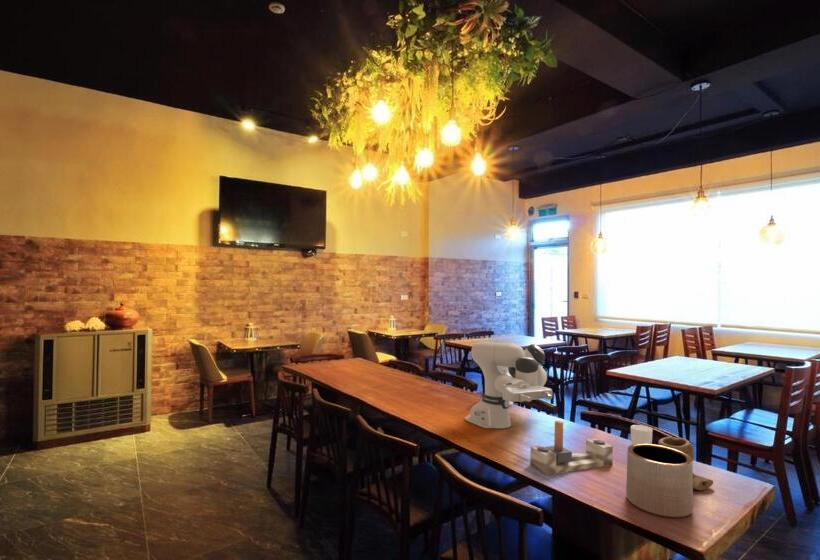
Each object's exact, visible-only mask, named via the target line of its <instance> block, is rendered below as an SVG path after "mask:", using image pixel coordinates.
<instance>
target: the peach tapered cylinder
mask: <svg viewBox="0 0 820 560" xmlns="http://www.w3.org/2000/svg"><path fill="white" fill-rule="evenodd" d="M553 441H554V445H550V446H549V445H548V446H545V447H546V448H548V449H549V450H550V451H552V452H554V453H555V454H556V464H562V463H569V462H570V460H572V454H573V452H572V451H571V450H569V449H567V448H565V447H564V421H561V420H555V421H554V440H553Z"/></svg>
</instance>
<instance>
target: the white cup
mask: <svg viewBox="0 0 820 560" xmlns="http://www.w3.org/2000/svg"><path fill="white" fill-rule="evenodd" d="M653 430H654V429H653V428H651V427H650V426H646V425H641V424H632V425H630V443H631V445H633V444H653V433H654V432H653Z"/></svg>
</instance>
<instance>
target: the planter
mask: <svg viewBox="0 0 820 560" xmlns="http://www.w3.org/2000/svg"><path fill="white" fill-rule="evenodd" d="M626 452H627V453H626V454H627V455H626V456H627V457H626V458H627V459H626V484H625V485H626V486H625V487H626V488H625V490H626V491H625V492H626V493H625V494H626V499H628V501H629V502H631V504H632V505H633V506H635V507H637V508H638V509H640V510H641V511H644V512H646V513H648V512H649V514H651V515H655V516H658V517H663V518H673V519H676V518H685V517H687V516H689V515H691V514H692V512H693V507H694V489H693V474H694V472H693V471H694V464H693V463H694V459H693V460H692V458H691V457H690V456H689V455H687V454H686V453H684V452H681V451H679V450H676V449H673V448H670V447H666V446H661V445H658V444H653V443H652V444H633V445H629V446H628V447H627V451H626Z"/></svg>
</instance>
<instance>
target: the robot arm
mask: <svg viewBox="0 0 820 560" xmlns="http://www.w3.org/2000/svg"><path fill="white" fill-rule="evenodd" d="M470 355H471V358H472V359H473V361H474V362H475V363H476V364H477V365H478V367H479V368H480V370H481V371H482V374H483V377H484V393H482V394H481V395H480V398H481V400H479V401H478V402H477V403H475V404H474V405H473V406H472V407H471V408H470V412H469V414H468V415H466V416H465V417H464V420H465V421H467V422H469V423H471V424H474V425H476V426H479V427H481V428H484V429H507V428H510V427H512V421H511V418H510V417H511V416H510V410H509V407H510V405H509V401H510V402H513V403H514V402H520V403H523V402H528V403H529V402H532V401H533V400H535V401H536V400H544V399H546V400H548V401H549V400H552V399H553V389H552V388H549V387H546V386H545V384H547V381H548V373H547V371H546V369H545V368H543V364H544V365H545V364H546V363H545V359H546V354H545V351H544V350H543V349H542V348H541V347H540V346H539V345H536V344H533V343H531V344H529V345H528V346H527V347H526V348H525V349H523V348H522V346H520V345H518V344H517V343H514V342H511V341H510V342H509V341H507V342H504V341H503V342H495V341H479V342H475V343H474V344H473V345H472V348H471V351H470ZM497 366H503V367H508V372H509V374H510V375H511V376H507V375H504V374H503V373H501V372H500V371H499V370H498V368H497Z"/></svg>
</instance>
